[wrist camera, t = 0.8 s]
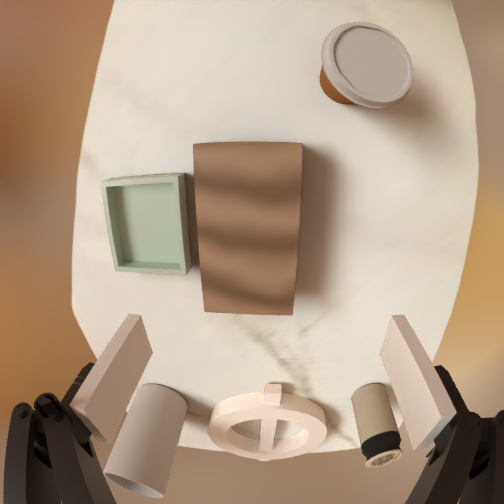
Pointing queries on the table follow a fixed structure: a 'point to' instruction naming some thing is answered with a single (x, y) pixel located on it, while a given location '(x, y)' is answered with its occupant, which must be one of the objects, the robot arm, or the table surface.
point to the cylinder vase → (148, 441)
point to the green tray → (148, 223)
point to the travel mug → (376, 425)
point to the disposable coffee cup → (365, 66)
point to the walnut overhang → (248, 225)
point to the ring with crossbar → (267, 424)
